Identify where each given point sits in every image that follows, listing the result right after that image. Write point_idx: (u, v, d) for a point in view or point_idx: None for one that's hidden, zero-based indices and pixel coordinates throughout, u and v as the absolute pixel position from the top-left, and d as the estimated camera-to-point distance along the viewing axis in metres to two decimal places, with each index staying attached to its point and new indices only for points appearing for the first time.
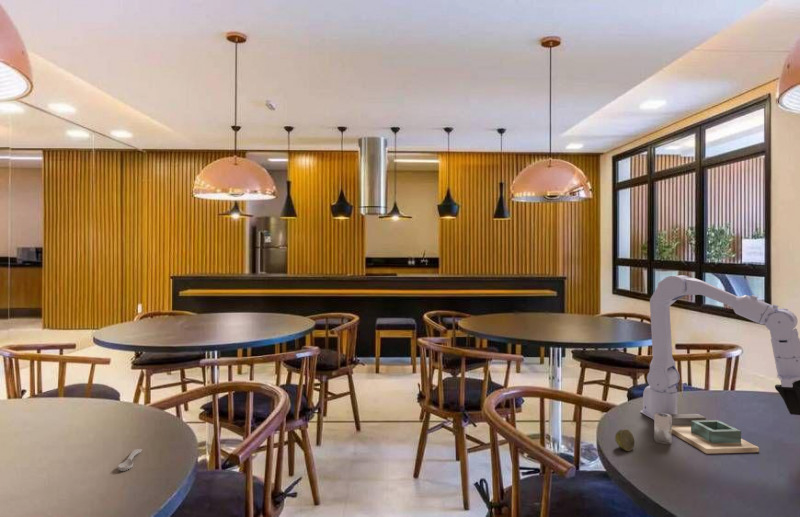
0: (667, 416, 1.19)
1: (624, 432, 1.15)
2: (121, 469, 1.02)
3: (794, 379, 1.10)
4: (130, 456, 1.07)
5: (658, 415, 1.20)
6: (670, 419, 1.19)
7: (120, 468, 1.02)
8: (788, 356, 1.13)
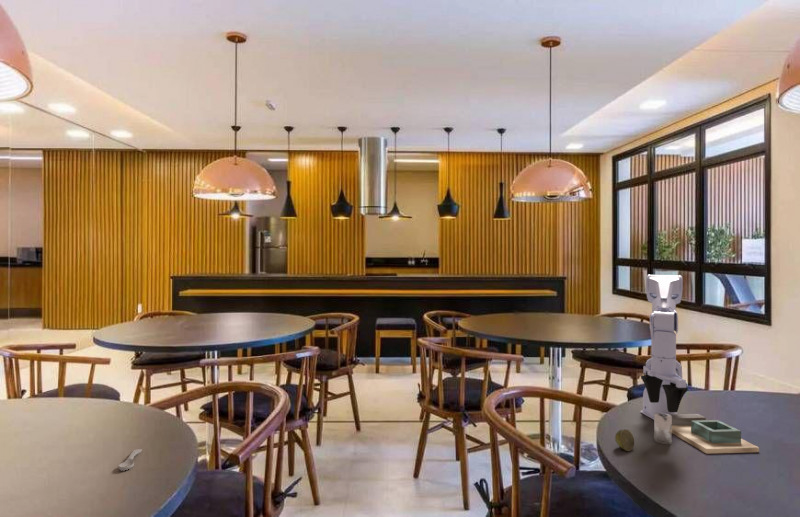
0: (667, 416, 1.19)
1: (624, 432, 1.15)
2: (122, 469, 1.02)
3: (646, 369, 1.25)
4: (130, 456, 1.08)
5: (658, 415, 1.20)
6: (670, 419, 1.19)
7: (121, 468, 1.02)
8: (651, 353, 1.21)
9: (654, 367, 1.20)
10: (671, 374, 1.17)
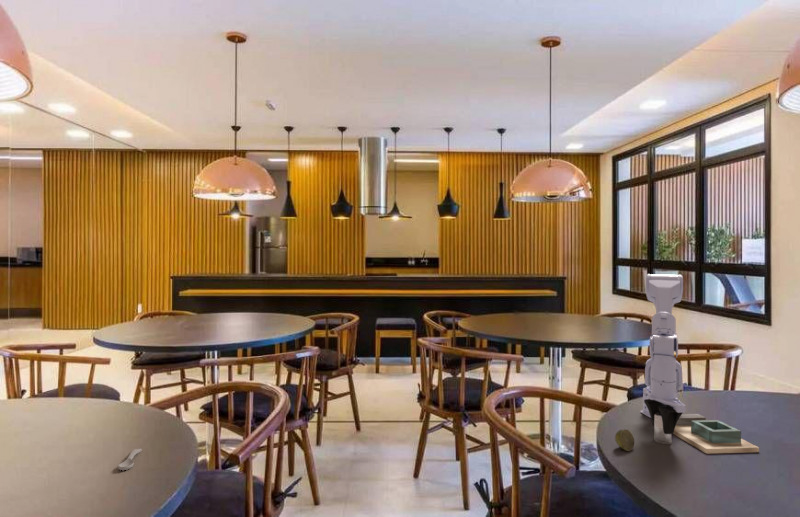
0: None
1: (624, 432, 1.15)
2: (122, 468, 1.02)
3: (646, 391, 1.25)
4: (130, 456, 1.08)
5: (658, 415, 1.20)
6: None
7: (120, 467, 1.03)
8: (651, 376, 1.21)
9: (654, 391, 1.20)
10: (671, 398, 1.17)
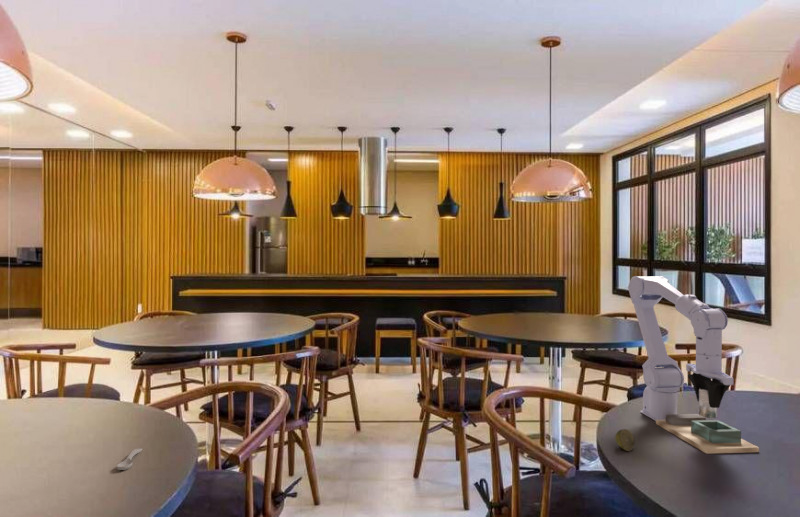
0: None
1: (624, 432, 1.15)
2: (120, 468, 1.03)
3: (689, 366, 1.25)
4: (129, 455, 1.08)
5: (703, 389, 1.20)
6: None
7: (119, 467, 1.03)
8: (700, 352, 1.19)
9: (699, 365, 1.20)
10: (717, 371, 1.17)
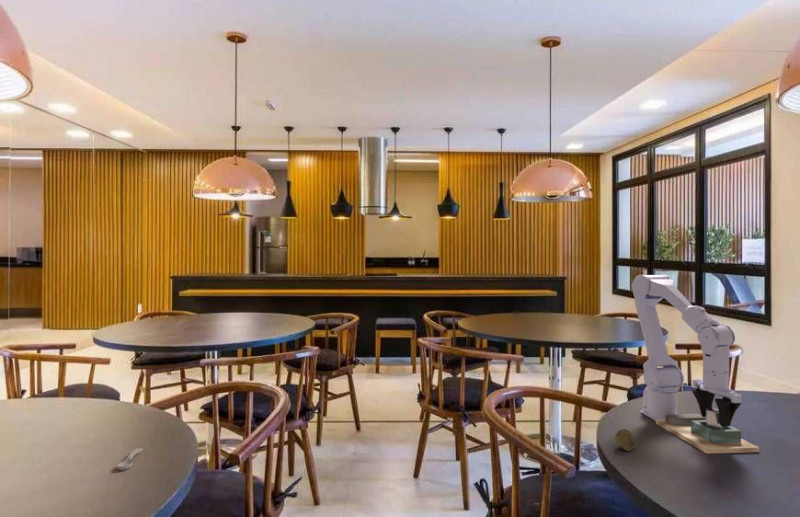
0: None
1: (624, 432, 1.15)
2: (120, 468, 1.03)
3: (696, 382, 1.25)
4: (130, 455, 1.08)
5: (710, 411, 1.20)
6: None
7: (119, 467, 1.03)
8: (709, 369, 1.19)
9: (706, 382, 1.20)
10: (725, 389, 1.17)
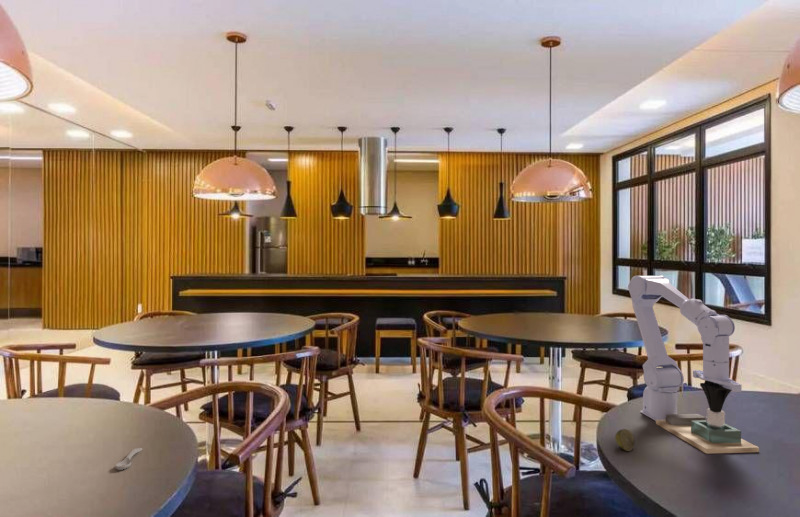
0: (720, 412, 1.19)
1: (624, 432, 1.15)
2: (118, 468, 1.03)
3: (696, 373, 1.25)
4: (129, 455, 1.08)
5: (711, 411, 1.20)
6: (723, 415, 1.18)
7: (117, 467, 1.03)
8: (708, 359, 1.19)
9: (706, 372, 1.19)
10: (725, 378, 1.17)
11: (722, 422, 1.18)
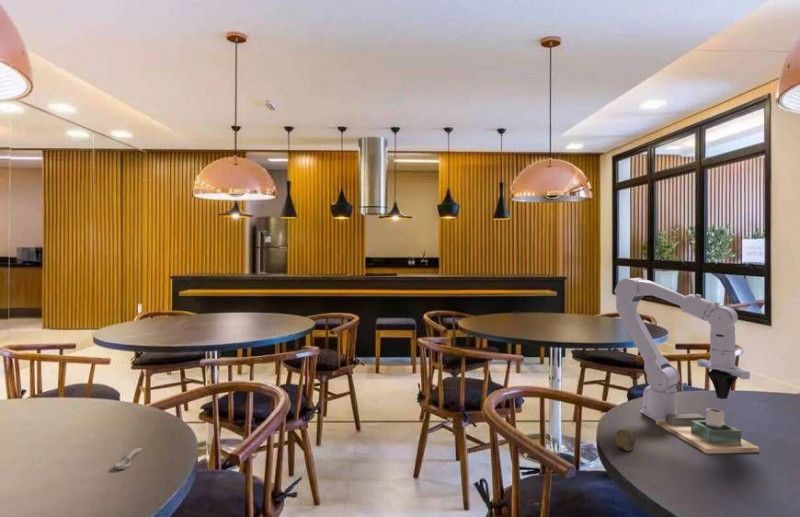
0: (719, 411, 1.19)
1: (624, 432, 1.15)
2: (118, 468, 1.03)
3: (702, 362, 1.30)
4: (128, 455, 1.08)
5: (710, 410, 1.20)
6: (722, 415, 1.18)
7: (117, 467, 1.03)
8: (721, 349, 1.23)
9: (715, 361, 1.25)
10: (732, 366, 1.23)
11: (720, 422, 1.18)
